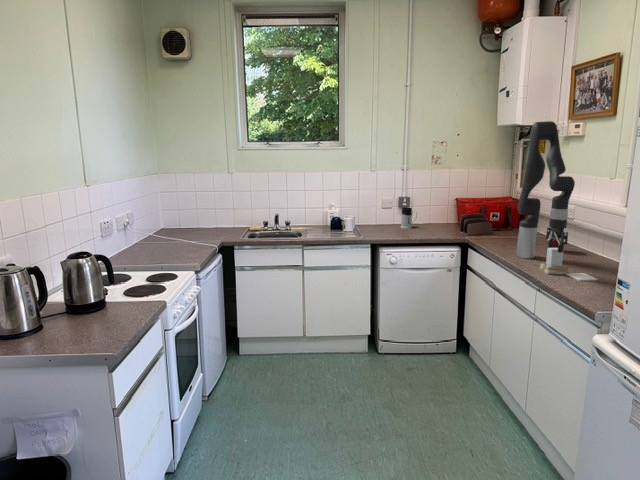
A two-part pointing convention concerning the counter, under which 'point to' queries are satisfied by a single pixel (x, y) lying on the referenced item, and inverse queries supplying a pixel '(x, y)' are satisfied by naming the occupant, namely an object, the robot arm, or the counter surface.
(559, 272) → the collar
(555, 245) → the plastic cup
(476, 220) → the letter holder
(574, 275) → the pad
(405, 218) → the tall grey mug
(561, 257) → the skincare box
